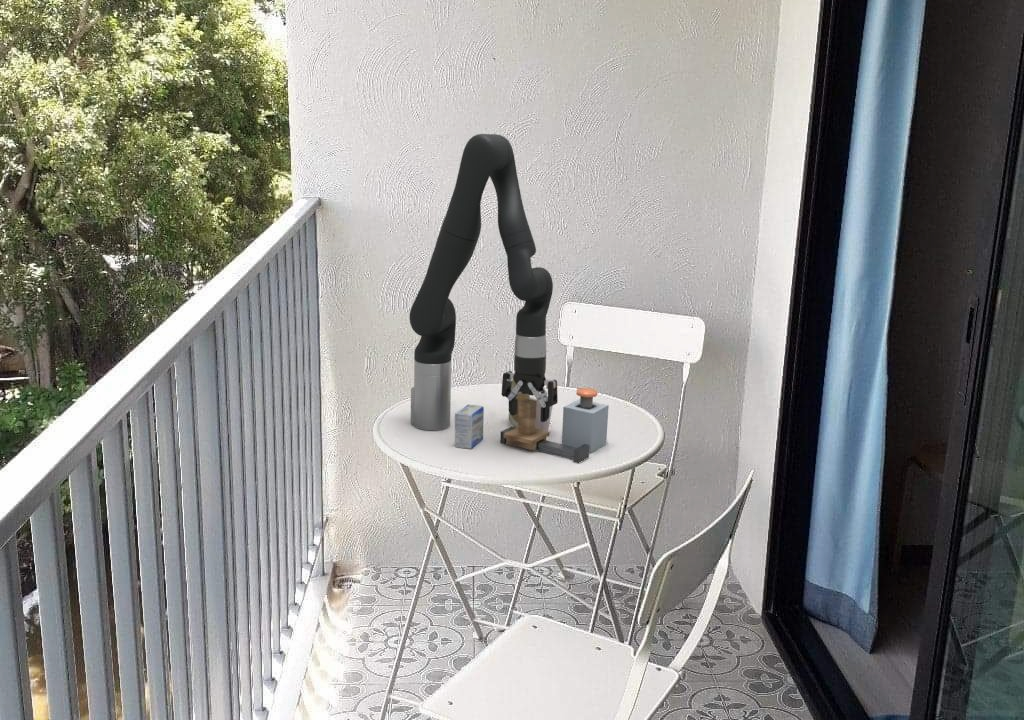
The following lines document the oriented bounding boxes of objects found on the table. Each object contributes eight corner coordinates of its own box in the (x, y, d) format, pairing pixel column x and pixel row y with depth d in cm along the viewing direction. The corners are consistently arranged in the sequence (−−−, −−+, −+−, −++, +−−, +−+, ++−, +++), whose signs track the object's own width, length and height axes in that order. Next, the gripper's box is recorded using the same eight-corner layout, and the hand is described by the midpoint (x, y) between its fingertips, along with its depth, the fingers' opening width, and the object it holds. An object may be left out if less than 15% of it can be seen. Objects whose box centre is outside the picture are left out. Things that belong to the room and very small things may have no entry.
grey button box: (561, 446, 243) (563, 406, 240) (577, 437, 250) (579, 399, 247) (590, 453, 239) (592, 413, 236) (606, 444, 245) (608, 405, 243)
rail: (500, 443, 244) (500, 431, 243) (511, 437, 248) (511, 426, 247) (578, 463, 232) (579, 451, 232) (588, 457, 236) (589, 445, 236)
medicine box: (471, 449, 239) (472, 415, 236) (453, 447, 240) (454, 412, 238) (483, 439, 246) (484, 405, 244) (466, 436, 247) (467, 403, 245)
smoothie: (538, 427, 256) (540, 374, 252) (558, 433, 252) (560, 379, 249) (522, 433, 251) (524, 379, 248) (542, 439, 247) (545, 384, 244)
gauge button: (571, 418, 242) (572, 391, 240) (581, 413, 246) (582, 386, 244) (589, 422, 239) (591, 395, 237) (599, 417, 243) (601, 390, 241)
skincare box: (507, 420, 261) (509, 375, 257) (523, 419, 262) (525, 374, 259) (516, 428, 255) (518, 382, 251) (532, 426, 256) (534, 381, 253)
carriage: (503, 445, 241) (504, 401, 238) (521, 436, 248) (522, 394, 245) (531, 452, 237) (533, 408, 234) (548, 443, 244) (550, 400, 241)
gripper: (496, 351, 237) (495, 416, 241) (548, 360, 230) (546, 427, 234) (513, 345, 243) (512, 408, 247) (564, 353, 236) (562, 419, 240)
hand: (528, 417), depth 241 cm, fingers open, 8 cm apart
